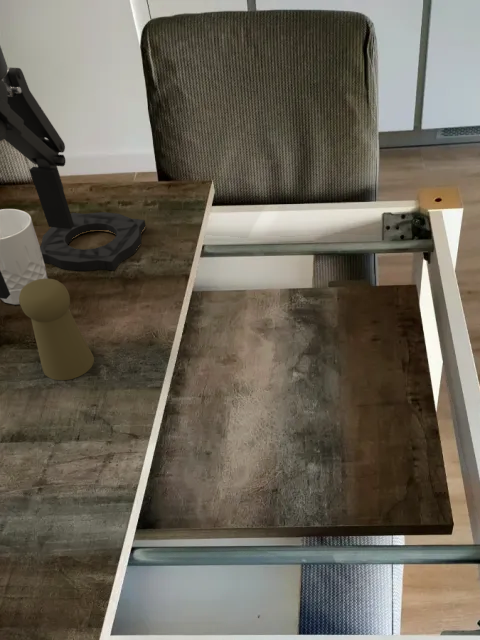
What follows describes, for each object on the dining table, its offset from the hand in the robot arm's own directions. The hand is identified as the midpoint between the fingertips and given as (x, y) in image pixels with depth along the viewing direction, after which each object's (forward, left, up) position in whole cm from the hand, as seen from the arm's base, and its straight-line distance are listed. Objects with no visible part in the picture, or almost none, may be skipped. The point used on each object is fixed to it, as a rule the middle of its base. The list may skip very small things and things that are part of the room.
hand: (31, 258), depth 68 cm
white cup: (-13, +13, -15) cm, 24 cm away
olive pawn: (0, 0, -15) cm, 15 cm away
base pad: (-9, +26, -14) cm, 31 cm away
